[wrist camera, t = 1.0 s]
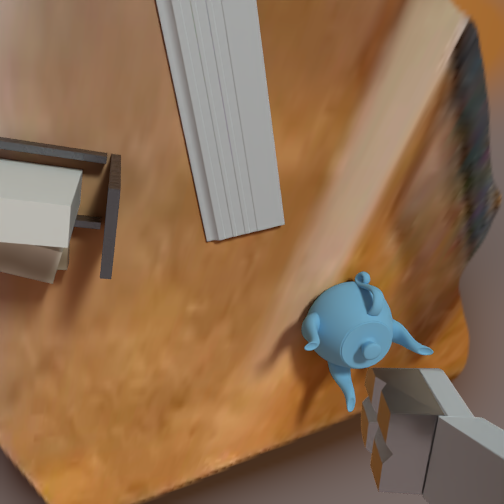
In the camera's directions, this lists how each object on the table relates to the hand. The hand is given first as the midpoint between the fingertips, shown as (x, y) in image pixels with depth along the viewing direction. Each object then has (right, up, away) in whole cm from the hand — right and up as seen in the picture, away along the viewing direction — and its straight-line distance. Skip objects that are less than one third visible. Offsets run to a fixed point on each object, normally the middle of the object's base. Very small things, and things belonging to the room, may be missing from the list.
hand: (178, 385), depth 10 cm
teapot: (+15, -7, +61) cm, 63 cm away
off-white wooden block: (-24, +11, +41) cm, 49 cm away
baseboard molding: (-3, +20, +45) cm, 49 cm away
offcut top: (-25, +3, +41) cm, 48 cm away
